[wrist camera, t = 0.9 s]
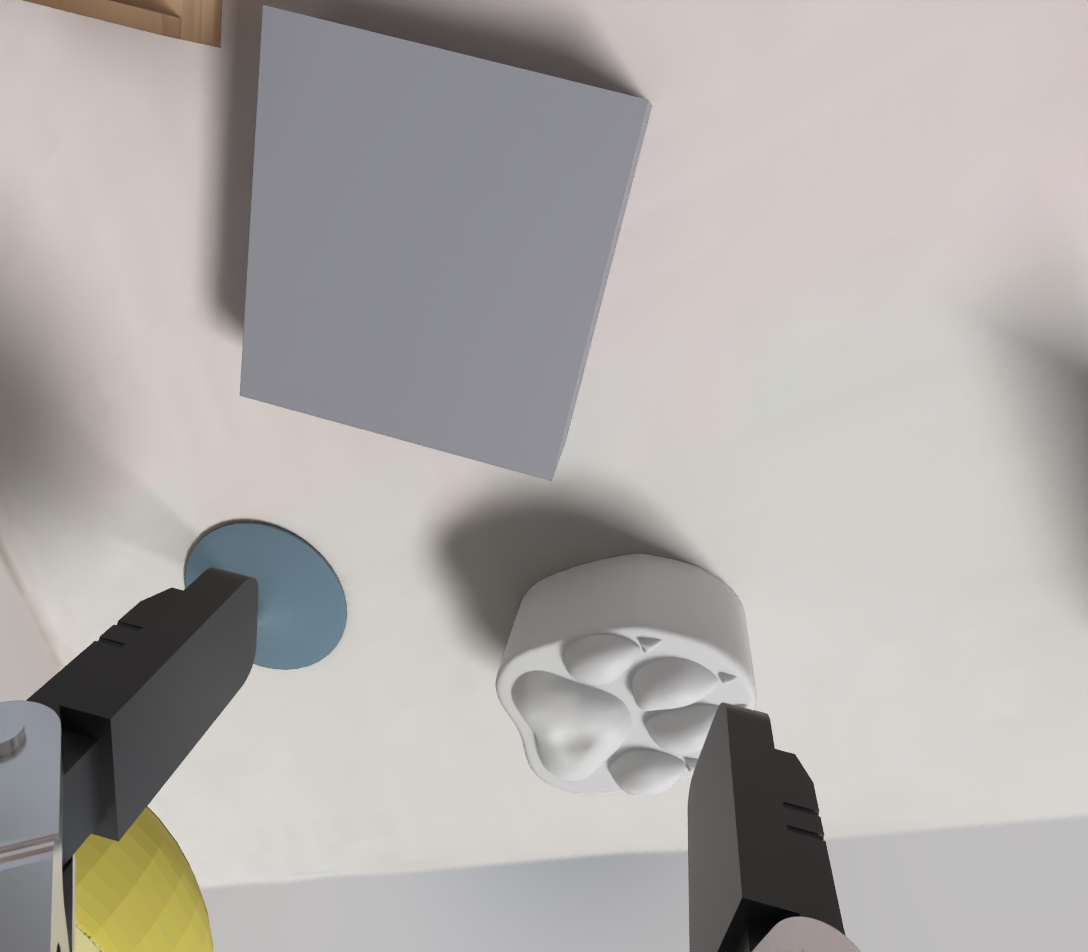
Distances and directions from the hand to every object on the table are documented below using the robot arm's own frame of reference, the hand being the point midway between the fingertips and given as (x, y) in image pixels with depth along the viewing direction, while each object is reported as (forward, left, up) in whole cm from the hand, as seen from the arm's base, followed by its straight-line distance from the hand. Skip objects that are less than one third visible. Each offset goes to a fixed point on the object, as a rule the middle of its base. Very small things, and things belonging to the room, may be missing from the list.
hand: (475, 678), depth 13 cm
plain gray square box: (-2, -9, -29) cm, 30 cm away
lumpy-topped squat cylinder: (+17, +6, -29) cm, 34 cm away
